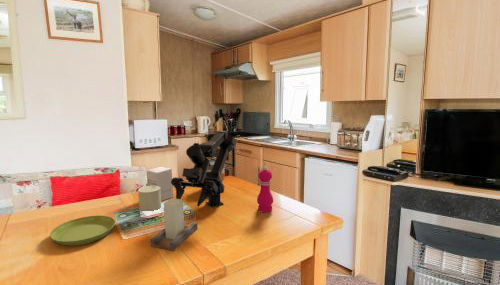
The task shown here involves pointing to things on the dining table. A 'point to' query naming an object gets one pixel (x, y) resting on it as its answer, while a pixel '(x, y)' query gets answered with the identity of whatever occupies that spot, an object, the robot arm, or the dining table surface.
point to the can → (149, 198)
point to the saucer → (82, 230)
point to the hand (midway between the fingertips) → (187, 204)
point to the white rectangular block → (173, 218)
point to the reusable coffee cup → (212, 167)
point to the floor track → (172, 244)
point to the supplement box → (161, 181)
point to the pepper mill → (265, 191)
